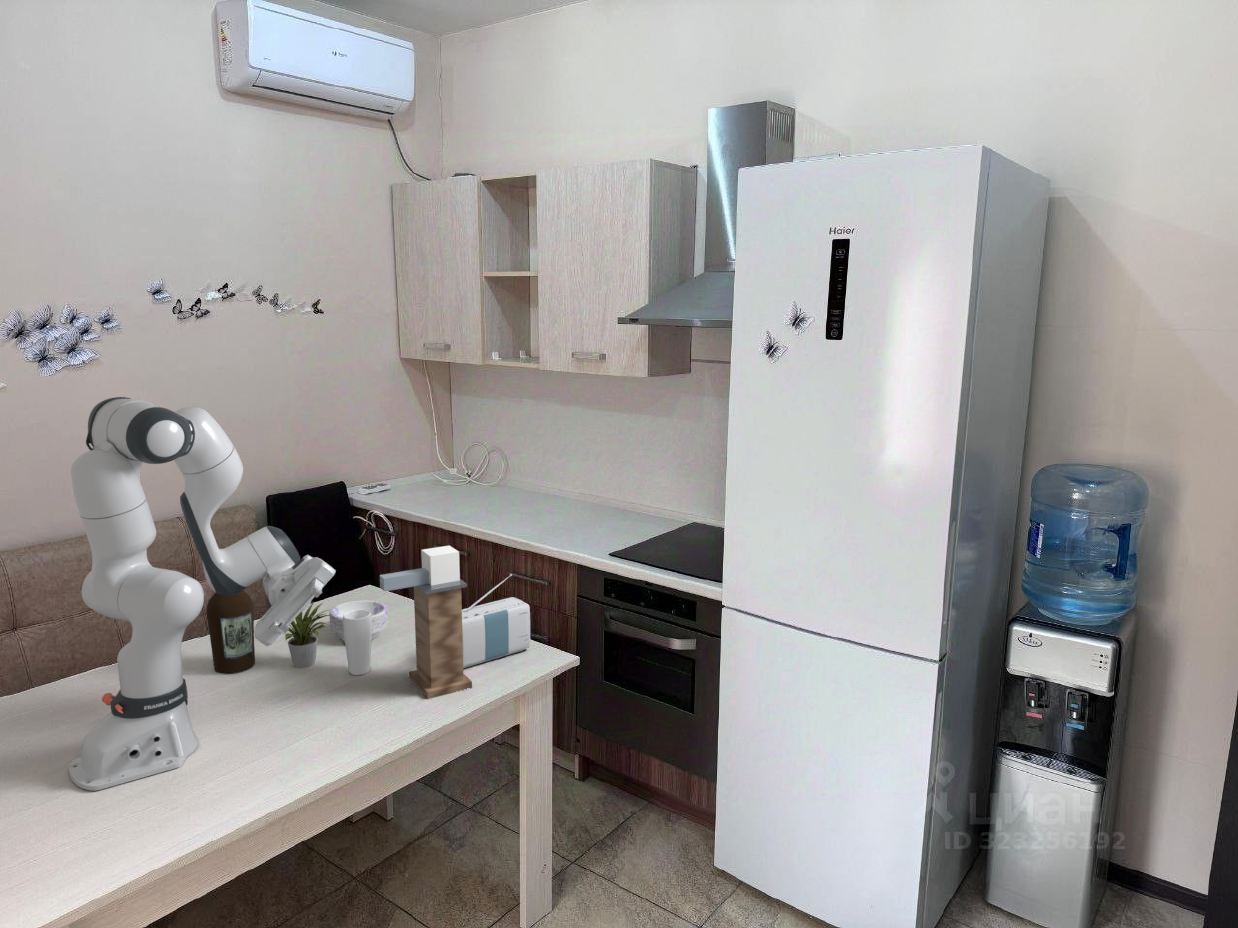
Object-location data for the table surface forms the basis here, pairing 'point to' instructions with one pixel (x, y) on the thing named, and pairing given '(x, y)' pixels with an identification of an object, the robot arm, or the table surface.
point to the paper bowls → (376, 608)
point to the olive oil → (231, 632)
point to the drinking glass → (358, 640)
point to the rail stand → (439, 639)
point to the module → (426, 570)
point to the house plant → (304, 638)
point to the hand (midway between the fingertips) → (300, 611)
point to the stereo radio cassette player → (494, 629)
